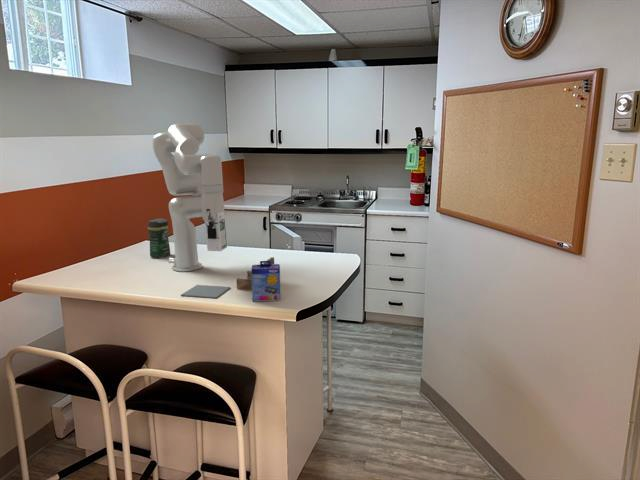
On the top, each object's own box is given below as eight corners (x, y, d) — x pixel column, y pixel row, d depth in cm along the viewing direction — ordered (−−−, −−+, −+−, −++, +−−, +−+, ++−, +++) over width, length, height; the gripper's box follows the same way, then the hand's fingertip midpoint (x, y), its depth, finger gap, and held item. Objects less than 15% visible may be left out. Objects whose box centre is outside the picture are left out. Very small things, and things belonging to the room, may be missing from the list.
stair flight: (237, 289, 177) (235, 263, 175) (248, 280, 188) (247, 256, 186) (264, 291, 175) (263, 265, 173) (275, 281, 186) (274, 257, 183)
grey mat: (181, 296, 171) (180, 294, 171) (197, 286, 182) (197, 284, 182) (216, 298, 167) (216, 297, 167) (230, 288, 179) (230, 286, 179)
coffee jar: (161, 259, 224) (158, 220, 220) (147, 258, 226) (143, 220, 222) (173, 254, 233) (170, 217, 229) (159, 253, 235) (156, 216, 231)
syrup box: (221, 251, 175) (219, 213, 172) (206, 251, 176) (203, 212, 173) (227, 247, 181) (224, 210, 178) (212, 247, 182) (210, 210, 179)
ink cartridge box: (252, 302, 163) (250, 262, 160) (253, 297, 168) (251, 258, 165) (280, 301, 164) (279, 261, 161) (280, 296, 169) (279, 257, 166)
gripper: (213, 186, 183) (216, 232, 187) (192, 191, 166) (196, 241, 170) (231, 186, 181) (234, 232, 185) (212, 191, 165) (215, 242, 169)
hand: (216, 236), depth 177 cm, fingers closed on syrup box, 5 cm apart
